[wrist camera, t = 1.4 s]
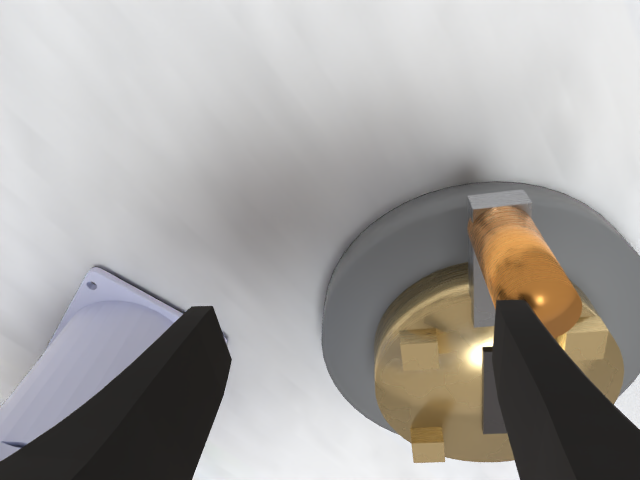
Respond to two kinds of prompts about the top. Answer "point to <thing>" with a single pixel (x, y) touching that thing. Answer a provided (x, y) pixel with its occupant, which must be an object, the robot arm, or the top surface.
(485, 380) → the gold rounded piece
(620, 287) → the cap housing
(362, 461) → the top surface
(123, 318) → the robot arm
